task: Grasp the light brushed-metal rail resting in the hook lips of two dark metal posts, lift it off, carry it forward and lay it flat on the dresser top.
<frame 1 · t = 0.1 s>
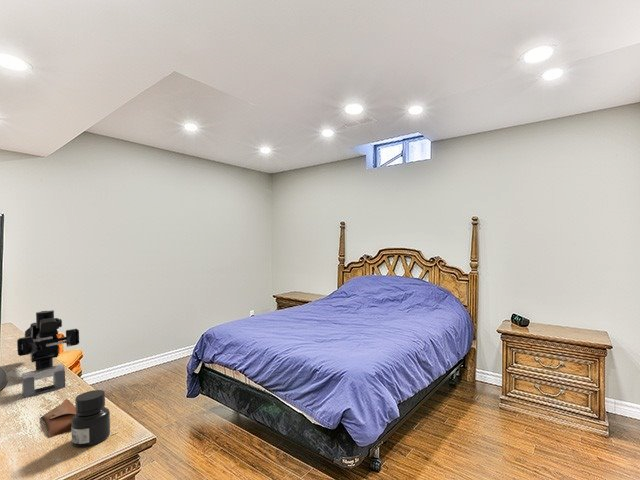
hand: (53, 345, 129), 17 cm above the dresser, tool horizontal, fingers open, 9 cm apart
standards: (44, 390, 129), on the dresser
rail: (44, 377, 129), point 5 cm above the dresser, touching standards
ink bottle: (91, 439, 96), on the dresser
sunglasses case: (61, 423, 106), on the dresser
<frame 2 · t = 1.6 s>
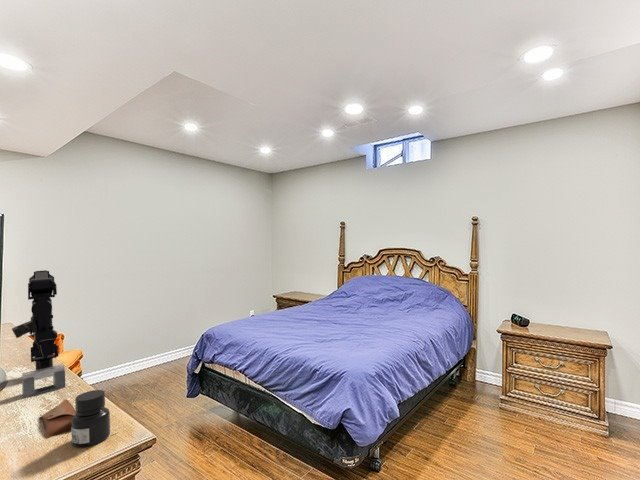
hand: (43, 355, 129), 13 cm above the dresser, tool pointing down, fingers open, 9 cm apart
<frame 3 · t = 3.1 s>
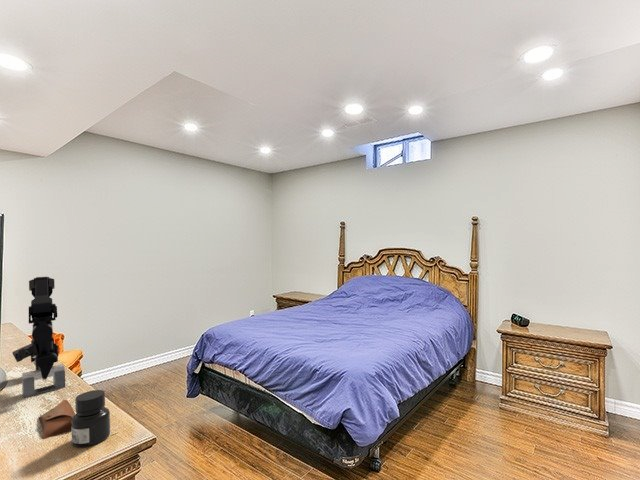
hand: (44, 378, 129), 5 cm above the dresser, tool pointing down, fingers closed on rail, 3 cm apart
rail: (44, 377, 129), point 5 cm above the dresser, touching gripper, standards
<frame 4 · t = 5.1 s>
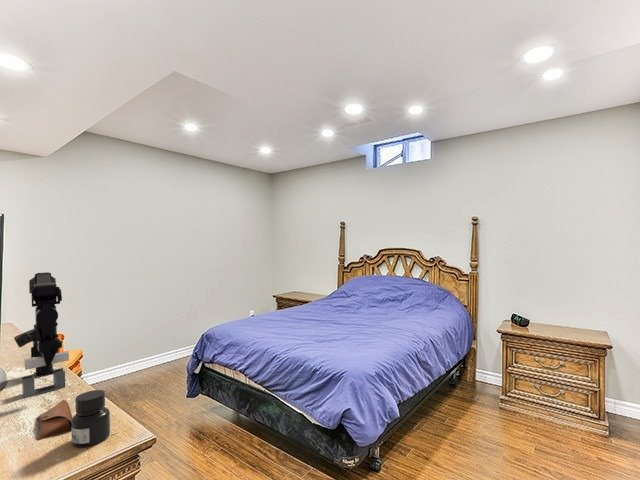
hand: (47, 365, 122), 12 cm above the dresser, tool pointing down, fingers closed on rail, 3 cm apart
rail: (47, 364, 122), point 12 cm above the dresser, touching gripper
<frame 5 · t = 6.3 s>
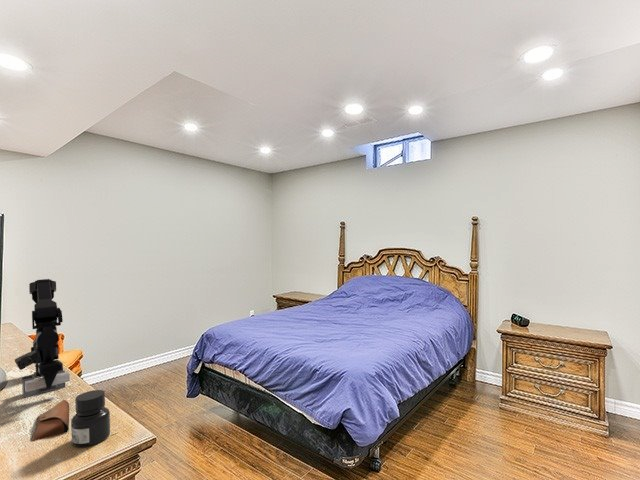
hand: (48, 386, 122), 4 cm above the dresser, tool pointing down, fingers closed on rail, 3 cm apart
rail: (48, 385, 122), point 5 cm above the dresser, touching gripper
when the fingers open (1 cm above the dresser, at t = 7.1 s): rail drops 2 cm, on the dresser.
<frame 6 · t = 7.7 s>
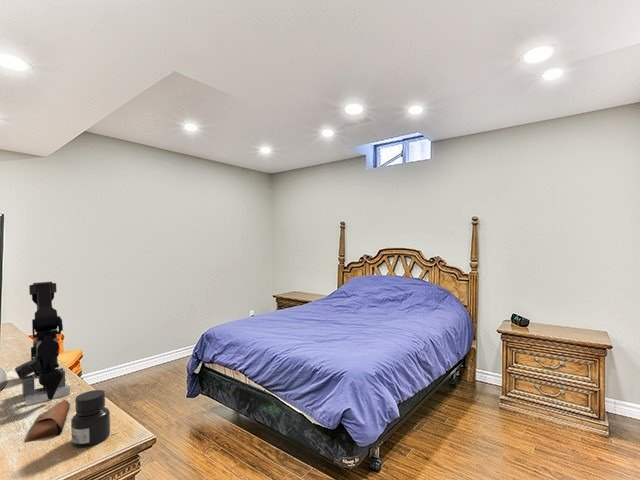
hand: (48, 395, 122), 1 cm above the dresser, tool pointing down, fingers open, 9 cm apart
rail: (48, 399, 122), on the dresser
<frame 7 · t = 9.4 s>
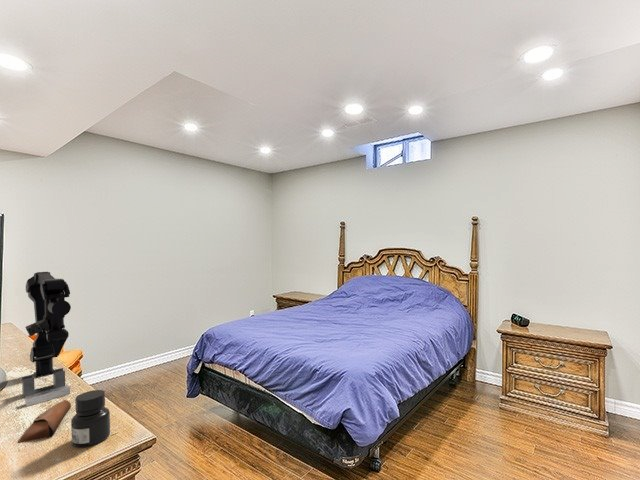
hand: (55, 352, 134), 12 cm above the dresser, tool pointing down, fingers open, 9 cm apart
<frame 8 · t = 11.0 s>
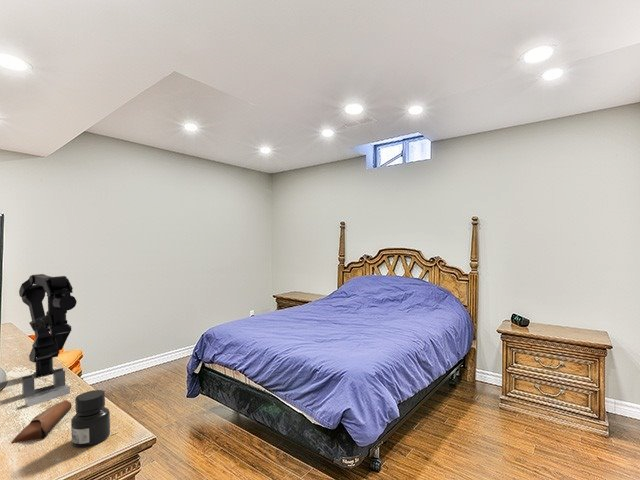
hand: (58, 347, 139), 13 cm above the dresser, tool pointing down, fingers open, 9 cm apart
at the end: rail inside the target area (0.4 cm from its centre), on the dresser; rail touching dresser; the gripper is holding nothing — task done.
